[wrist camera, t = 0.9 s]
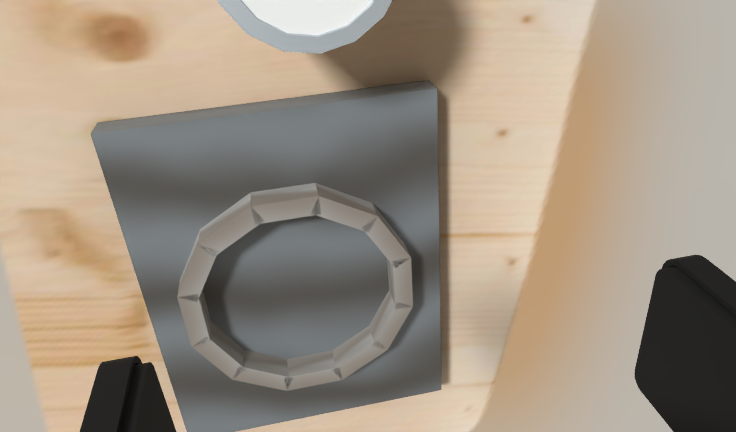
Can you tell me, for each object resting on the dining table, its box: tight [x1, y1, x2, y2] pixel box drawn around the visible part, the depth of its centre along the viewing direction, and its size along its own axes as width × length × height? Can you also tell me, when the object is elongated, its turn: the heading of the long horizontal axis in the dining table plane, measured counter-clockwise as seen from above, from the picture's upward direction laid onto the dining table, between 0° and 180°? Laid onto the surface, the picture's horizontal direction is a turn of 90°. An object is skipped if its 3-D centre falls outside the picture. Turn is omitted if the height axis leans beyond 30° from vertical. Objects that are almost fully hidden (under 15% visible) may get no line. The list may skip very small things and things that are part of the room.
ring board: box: [91, 80, 441, 432], centre depth 32 cm, size 20×16×3 cm
